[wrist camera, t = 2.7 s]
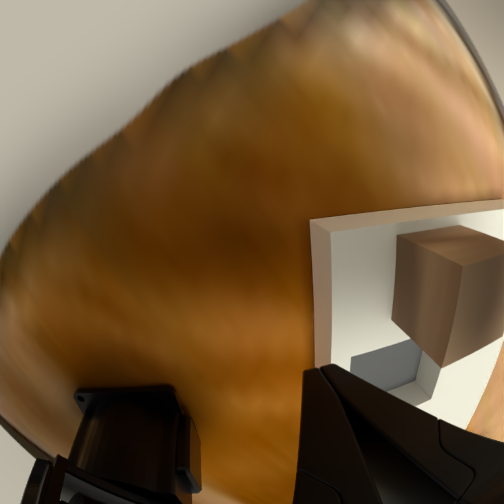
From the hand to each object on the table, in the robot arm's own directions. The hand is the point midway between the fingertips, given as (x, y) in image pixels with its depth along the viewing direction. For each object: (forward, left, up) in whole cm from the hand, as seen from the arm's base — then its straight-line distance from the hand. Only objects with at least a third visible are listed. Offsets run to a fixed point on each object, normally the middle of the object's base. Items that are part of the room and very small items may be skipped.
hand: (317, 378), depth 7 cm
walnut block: (+7, 0, -4) cm, 8 cm away
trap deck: (+9, -12, -7) cm, 16 cm away
